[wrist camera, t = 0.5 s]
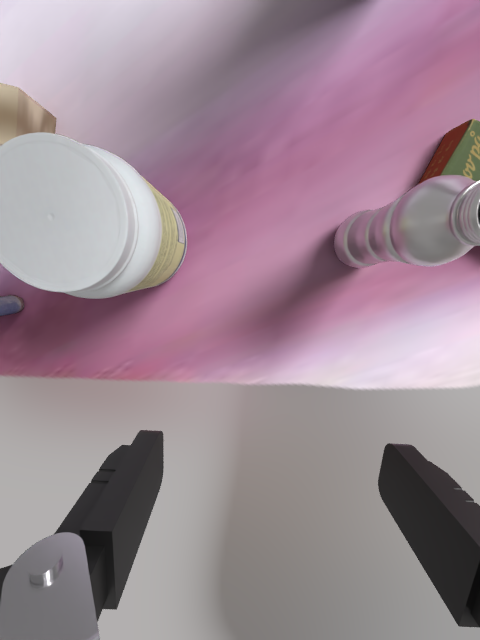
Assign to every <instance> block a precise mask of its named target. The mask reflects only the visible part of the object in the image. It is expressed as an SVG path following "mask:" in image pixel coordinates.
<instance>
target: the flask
mask: <svg viewBox="0 0 480 640" xmlns="http://www.w3.org/2000/svg"><path fill="white" fill-rule="evenodd" d="M22 305H23V307H22ZM23 308H24V303H23V301H22V298H20V297H18V296H12V295H8V296H4V297H1V296H0V316H2V315H10V314H14V313H17V312H20V311H21V310H23Z"/></svg>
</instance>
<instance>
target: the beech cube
mask: <svg viewBox="0 0 480 640" xmlns="http://www.w3.org/2000/svg"><path fill="white" fill-rule="evenodd" d="M55 127H56V118H55V117H54V116H53V115H52V114H51V113H49V112H48V111H47V110H46V109H44V108H43V107H42V106H41V105H39V104H38V103H37V102H36V101H34V100H33V99H32V98H31V97H30V96H28V95H27V94H26V93H25V92H23V91H22V90H21V89H20V88H18V87H14V86H10V85H6V84H2V83H0V146H1V145H3V144H4V143H5V142H7V141H9V140H11V139H13V138H15V137H18V136H21V135H24V134H28V133H37V132H44V133H53V134H55Z"/></svg>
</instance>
